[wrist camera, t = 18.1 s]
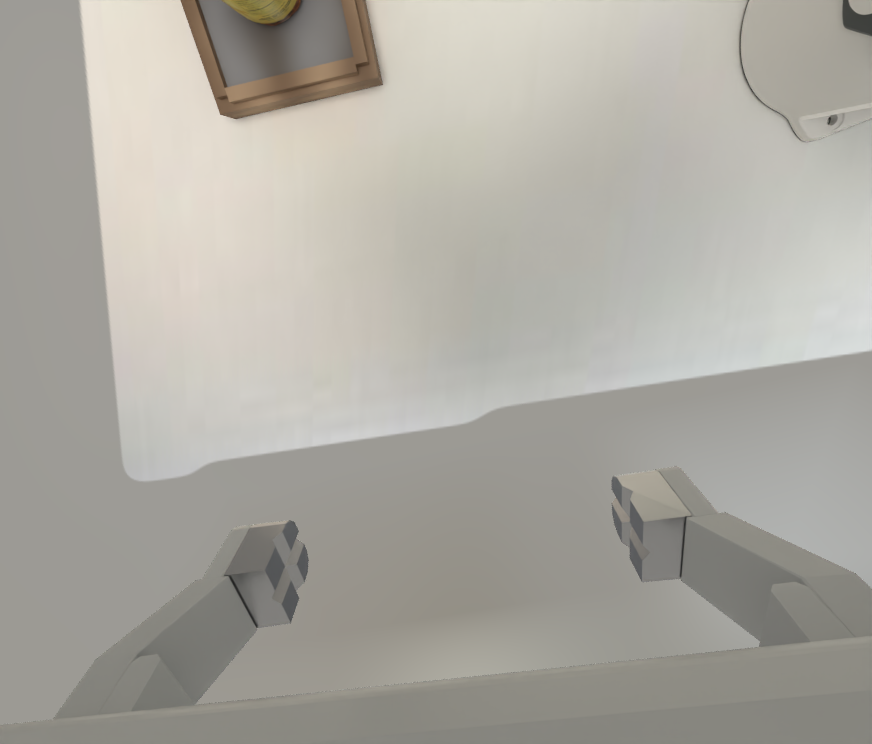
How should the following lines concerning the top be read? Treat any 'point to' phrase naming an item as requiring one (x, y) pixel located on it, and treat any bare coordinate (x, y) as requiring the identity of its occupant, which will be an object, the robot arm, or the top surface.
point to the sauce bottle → (265, 10)
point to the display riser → (283, 54)
